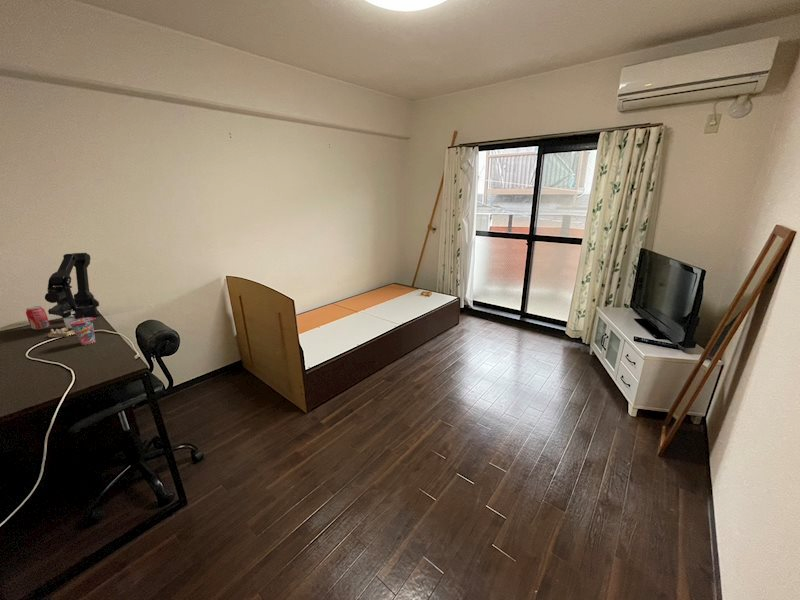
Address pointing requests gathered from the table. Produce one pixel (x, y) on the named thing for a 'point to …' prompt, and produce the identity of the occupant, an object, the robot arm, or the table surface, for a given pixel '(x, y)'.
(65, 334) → the light brown u-shaped piece
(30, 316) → the soda can
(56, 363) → the table surface
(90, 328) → the cup
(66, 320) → the block
